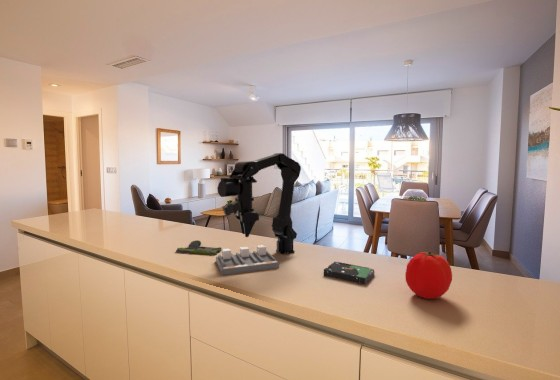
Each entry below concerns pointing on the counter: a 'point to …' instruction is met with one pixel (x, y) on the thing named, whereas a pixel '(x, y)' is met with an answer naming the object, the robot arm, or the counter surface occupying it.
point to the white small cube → (244, 251)
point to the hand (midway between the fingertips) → (245, 235)
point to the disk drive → (349, 272)
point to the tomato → (428, 275)
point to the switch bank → (246, 263)
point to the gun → (199, 249)
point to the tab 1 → (226, 253)
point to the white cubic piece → (261, 250)
